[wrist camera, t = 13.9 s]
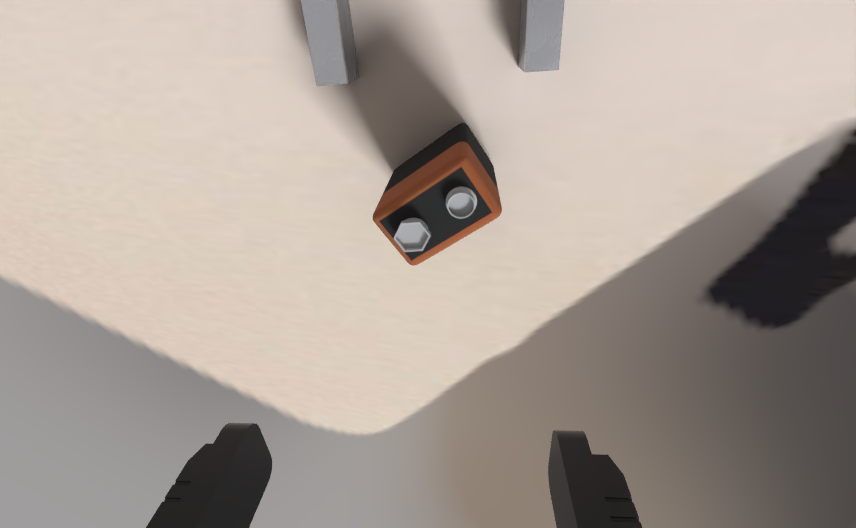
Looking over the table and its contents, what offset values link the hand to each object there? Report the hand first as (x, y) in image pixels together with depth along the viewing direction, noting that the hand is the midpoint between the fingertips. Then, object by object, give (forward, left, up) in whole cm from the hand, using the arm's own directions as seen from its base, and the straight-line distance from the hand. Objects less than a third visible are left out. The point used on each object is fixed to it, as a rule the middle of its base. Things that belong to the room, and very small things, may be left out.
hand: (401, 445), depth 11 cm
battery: (0, 0, -24) cm, 24 cm away
